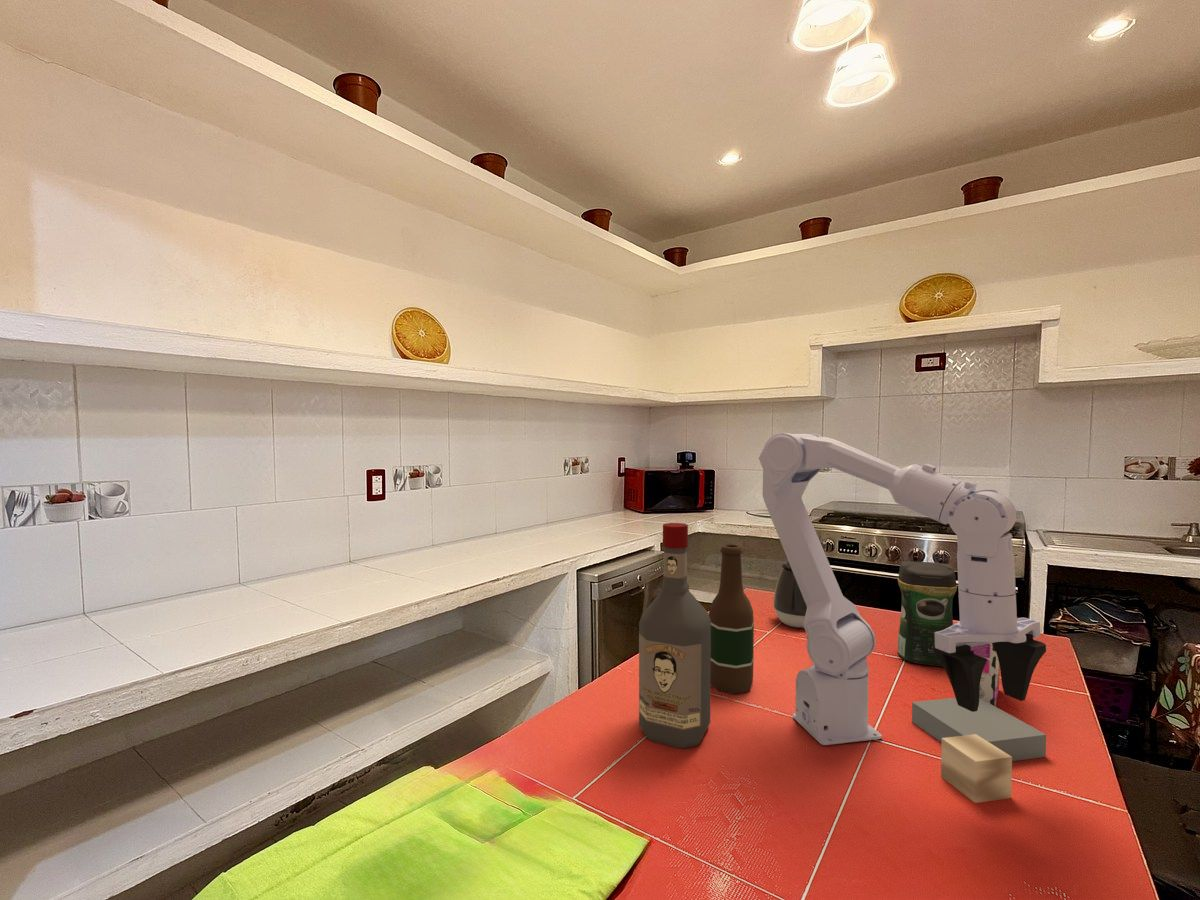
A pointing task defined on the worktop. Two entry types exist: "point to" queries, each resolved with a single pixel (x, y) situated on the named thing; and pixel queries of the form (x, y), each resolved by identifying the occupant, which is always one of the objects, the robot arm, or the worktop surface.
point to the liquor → (675, 654)
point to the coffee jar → (924, 608)
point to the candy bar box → (988, 673)
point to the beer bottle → (731, 628)
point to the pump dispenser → (789, 599)
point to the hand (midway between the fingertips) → (991, 702)
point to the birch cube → (976, 768)
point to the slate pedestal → (980, 726)
